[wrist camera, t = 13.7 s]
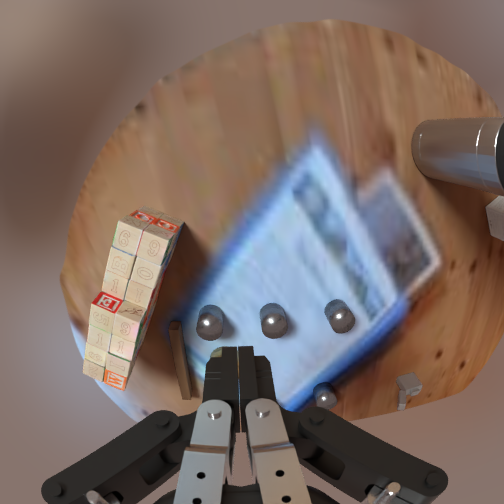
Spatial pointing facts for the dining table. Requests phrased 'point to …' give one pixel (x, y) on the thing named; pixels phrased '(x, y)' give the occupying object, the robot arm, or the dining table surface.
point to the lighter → (407, 388)
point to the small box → (496, 217)
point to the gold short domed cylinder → (218, 353)
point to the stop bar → (180, 359)
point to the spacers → (281, 333)
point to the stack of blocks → (129, 294)
